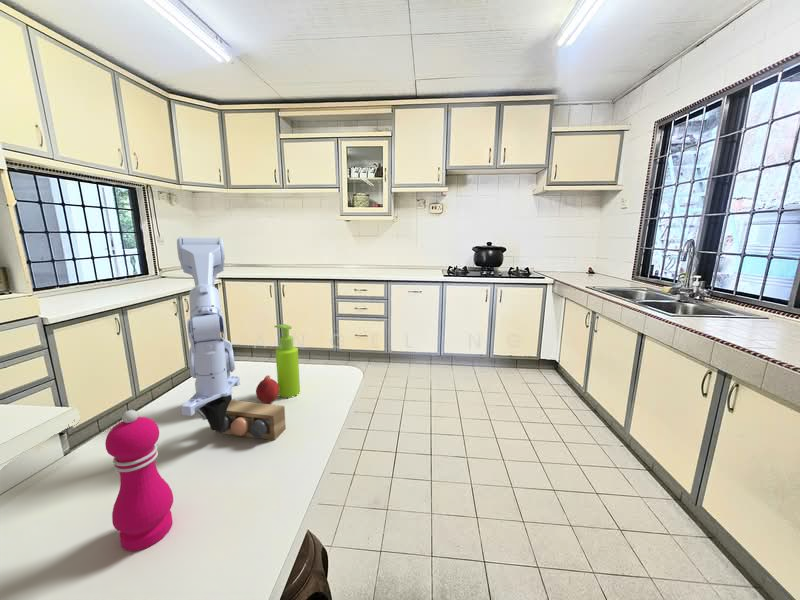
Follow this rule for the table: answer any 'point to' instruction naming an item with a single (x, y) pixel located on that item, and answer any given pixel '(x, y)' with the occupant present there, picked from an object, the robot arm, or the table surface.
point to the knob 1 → (226, 423)
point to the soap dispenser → (287, 364)
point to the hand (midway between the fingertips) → (217, 429)
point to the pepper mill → (139, 483)
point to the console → (259, 416)
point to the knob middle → (241, 425)
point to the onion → (267, 390)
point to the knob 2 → (259, 427)
